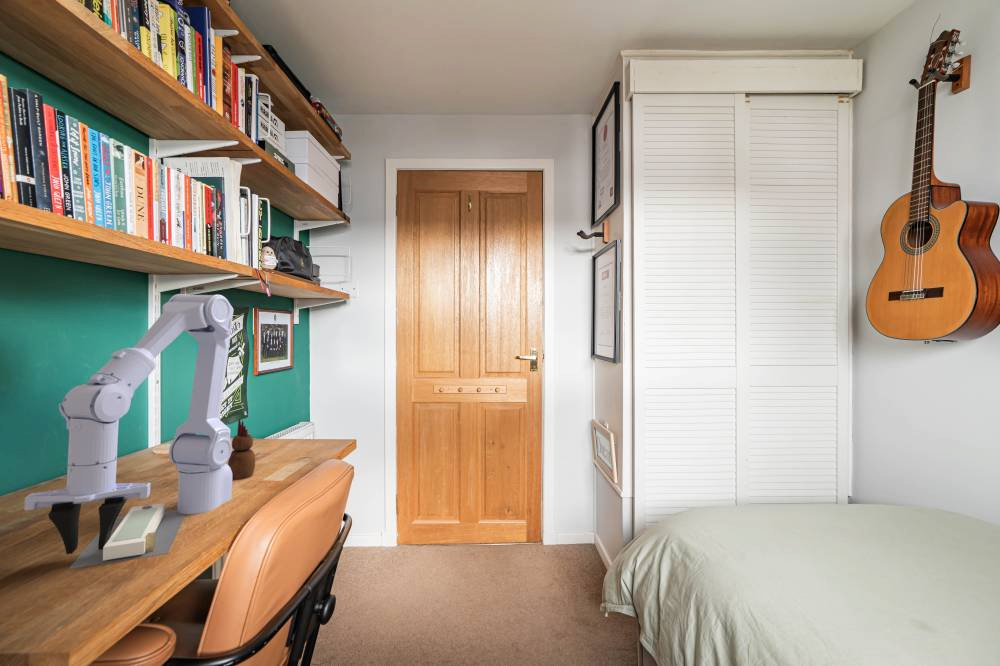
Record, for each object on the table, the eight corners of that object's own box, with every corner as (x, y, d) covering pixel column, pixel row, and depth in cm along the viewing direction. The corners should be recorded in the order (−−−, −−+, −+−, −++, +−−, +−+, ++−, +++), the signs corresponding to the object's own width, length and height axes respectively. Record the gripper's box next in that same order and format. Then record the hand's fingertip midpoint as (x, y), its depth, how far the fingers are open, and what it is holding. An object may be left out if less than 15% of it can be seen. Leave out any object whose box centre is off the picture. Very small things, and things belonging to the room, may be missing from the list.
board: (111, 522, 85) (112, 504, 85) (188, 513, 90) (188, 495, 91) (67, 575, 66) (68, 552, 66) (167, 559, 72) (168, 537, 72)
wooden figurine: (226, 478, 113) (228, 418, 113) (252, 474, 116) (254, 416, 116) (229, 485, 107) (231, 422, 108) (256, 481, 111) (258, 420, 111)
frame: (131, 517, 84) (132, 506, 84) (164, 513, 87) (164, 502, 87) (102, 560, 68) (103, 546, 68) (143, 553, 71) (144, 539, 71)
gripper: (16, 473, 63) (10, 570, 63) (144, 463, 70) (140, 551, 70) (38, 460, 70) (34, 549, 69) (154, 452, 76) (150, 533, 76)
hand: (88, 549), depth 70 cm, fingers open, 3 cm apart
